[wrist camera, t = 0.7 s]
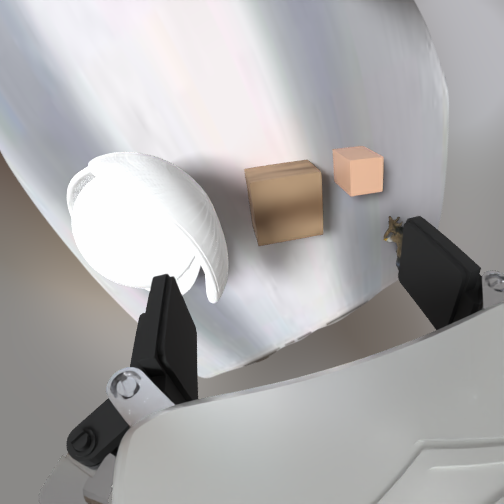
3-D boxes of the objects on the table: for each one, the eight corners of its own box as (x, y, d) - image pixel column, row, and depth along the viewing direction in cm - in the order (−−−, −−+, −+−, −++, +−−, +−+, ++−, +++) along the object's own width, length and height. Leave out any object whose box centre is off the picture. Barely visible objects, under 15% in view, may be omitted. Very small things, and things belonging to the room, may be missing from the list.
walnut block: (244, 168, 40) (249, 182, 35) (307, 159, 41) (321, 172, 36) (252, 225, 45) (258, 246, 40) (310, 215, 46) (323, 234, 41)
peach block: (332, 149, 40) (350, 160, 35) (363, 145, 40) (383, 156, 35) (334, 181, 43) (350, 196, 38) (363, 177, 43) (382, 191, 38)
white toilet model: (64, 190, 37) (-7, 268, 21) (165, 101, 34) (123, 121, 17) (147, 279, 48) (127, 380, 31) (247, 213, 44) (274, 307, 27)
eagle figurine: (365, 238, 48) (388, 274, 51) (399, 237, 41) (420, 276, 44) (384, 208, 50) (405, 244, 53) (416, 205, 43) (435, 244, 46)
